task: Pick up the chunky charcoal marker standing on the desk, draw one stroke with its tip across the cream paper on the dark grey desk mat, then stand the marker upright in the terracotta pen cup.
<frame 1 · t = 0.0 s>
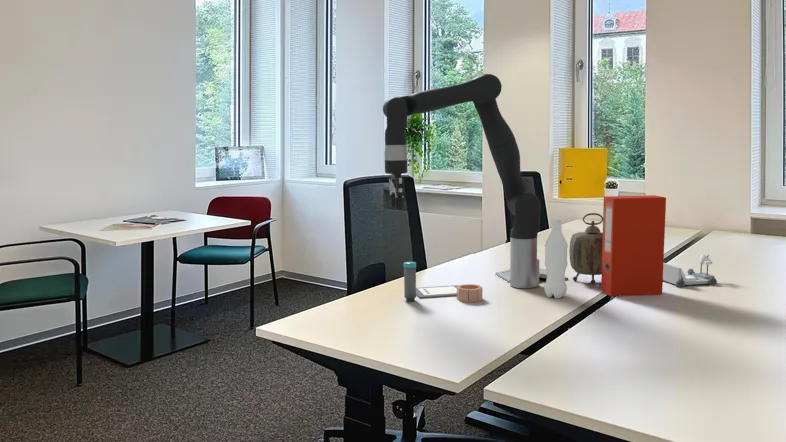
hand: (396, 207, 208), 29 cm above the table, fingers open, 8 cm apart
gadget: (531, 279, 234), on the table
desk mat: (439, 292, 213), on the table
file binder: (631, 293, 207), on the table
toy car: (689, 284, 221), on the table
pen cup: (469, 299, 203), on the table
tabletop clock: (591, 283, 223), on the table
water bottle: (555, 297, 205), on the table
marker: (410, 300, 203), on the table
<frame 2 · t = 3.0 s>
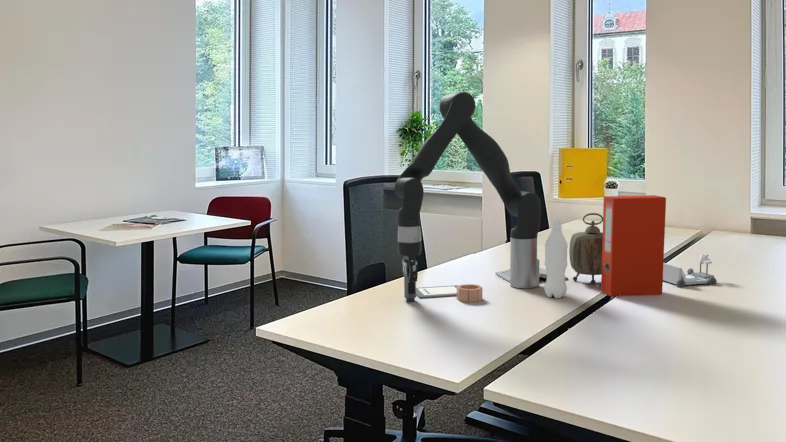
hand: (410, 292, 202), 3 cm above the table, fingers closed on marker, 3 cm apart
marker: (410, 300, 203), on the table, touching gripper
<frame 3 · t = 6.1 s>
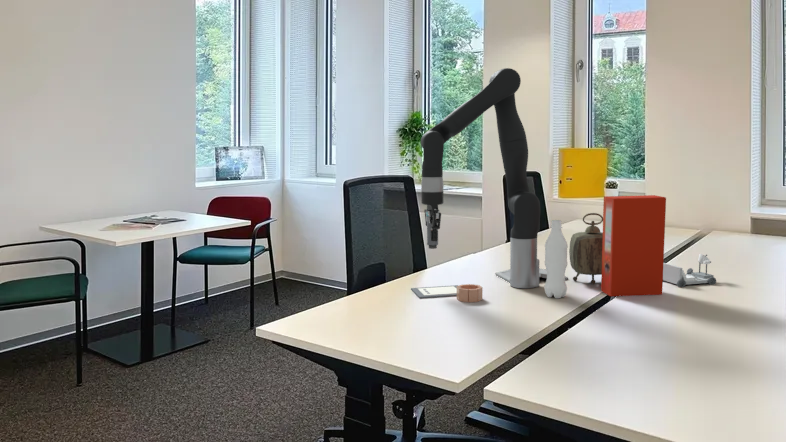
hand: (432, 239, 215), 17 cm above the table, fingers closed on marker, 3 cm apart
marker: (432, 248, 215), point 15 cm above the table, touching gripper
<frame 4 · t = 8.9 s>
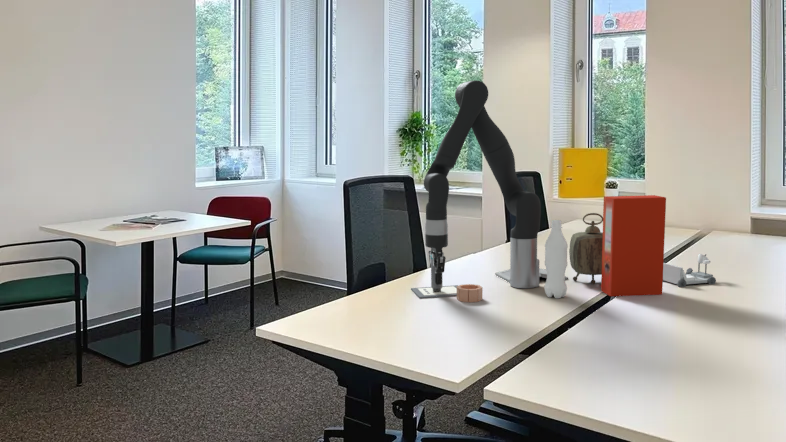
hand: (437, 282, 212), 4 cm above the table, fingers closed on marker, 3 cm apart
marker: (436, 290, 212), point 1 cm above the table, touching gripper
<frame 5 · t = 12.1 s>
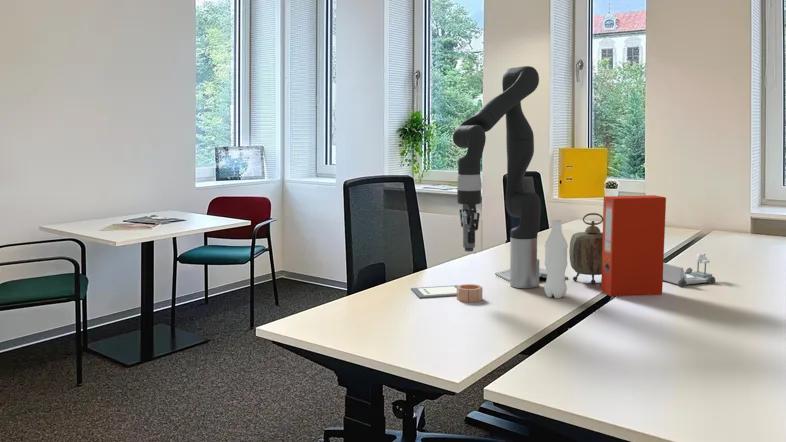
hand: (469, 242, 201), 19 cm above the table, fingers closed on marker, 3 cm apart
marker: (469, 250, 201), point 16 cm above the table, touching gripper
when the fingers open (5 cm above the table, at t = 14.8 s): marker drops 2 cm, resting on pen cup.
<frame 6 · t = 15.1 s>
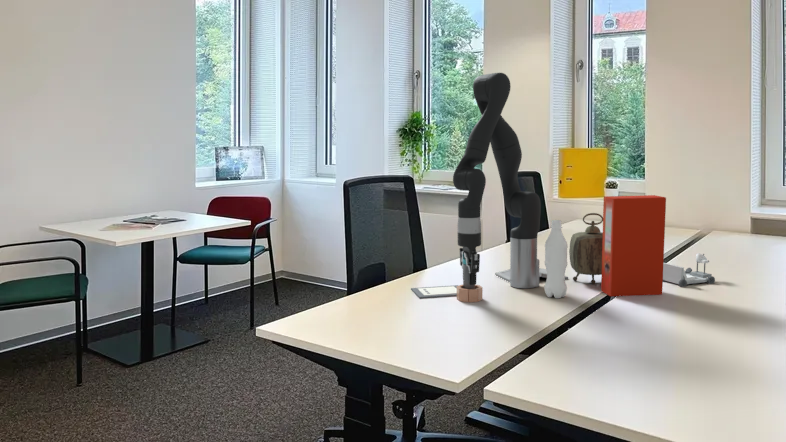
hand: (469, 282, 203), 6 cm above the table, fingers open, 6 cm apart
marker: (469, 297, 203), point 1 cm above the table, touching pen cup
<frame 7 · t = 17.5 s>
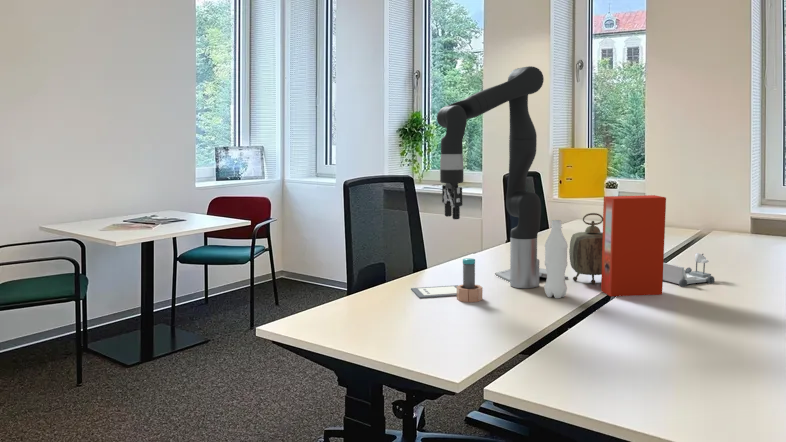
hand: (452, 217, 205), 26 cm above the table, fingers open, 8 cm apart
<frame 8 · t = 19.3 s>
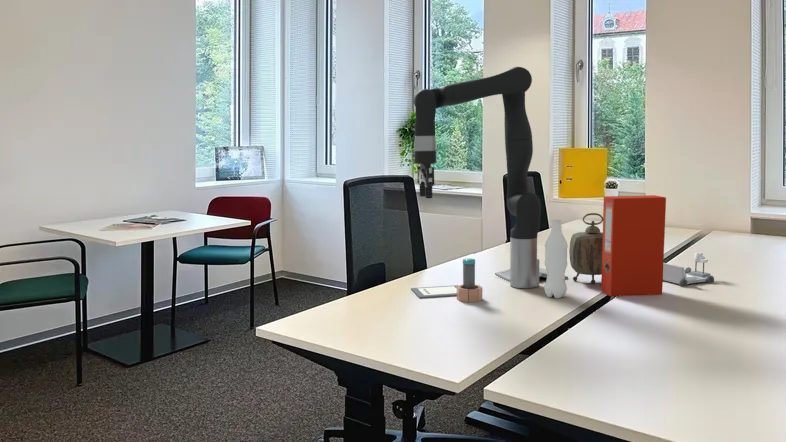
hand: (425, 197, 214), 32 cm above the table, fingers open, 8 cm apart
at the end: marker 0.1 cm off-centre on the pen cup, point 0.6 cm above the pen cup's base; marker tilted 1°; the gripper is holding nothing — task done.
